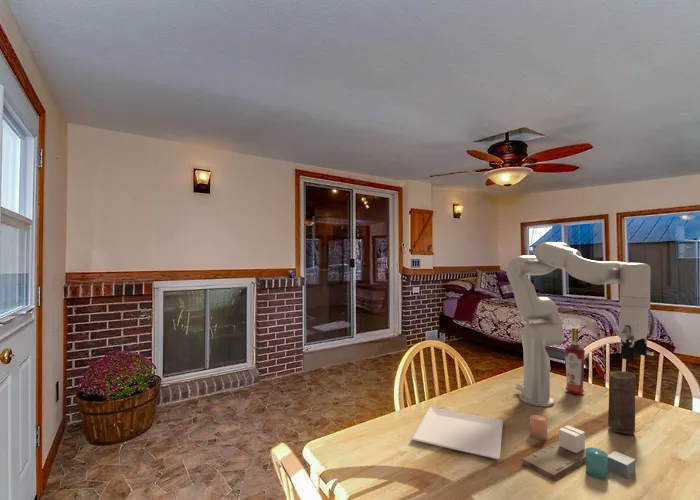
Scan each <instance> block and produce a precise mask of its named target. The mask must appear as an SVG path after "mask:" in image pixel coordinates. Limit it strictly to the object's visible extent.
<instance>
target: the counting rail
mask: <svg viewBox="0 0 700 500" xmlns="http://www.w3.org/2000/svg"><path fill="white" fill-rule="evenodd" d="M584 463H586V448H585V449H583V450H582V451H580V452H578V453H574V452H572V451H570V450H567V449H565V448H563V447H561V446H559V440H557V441H555V442H553V443H551V444H549V445H547V446H545V447H543V448H541V449H539V450H537V451H535V452H534V453H530V454H529V455H527V456H525V457H523V458H522V465H524V466H526V467H528V468H529V469H531V470H532V471H535V472H537V473H539V474H540V475H542V476H544V477H546V478H548V479H550V480H552V481H554V482H555V481H557V480H558V479H559V478H562V477H563V476H564V475H567V474H568V473H570V472H571V471H573V470H574V469H576V468H577V467H579V466H581V465H583V464H584Z"/></svg>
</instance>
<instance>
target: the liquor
mask: <svg viewBox="0 0 700 500" xmlns="http://www.w3.org/2000/svg"><path fill="white" fill-rule="evenodd" d="M570 332H571V333H570V334H571V338H570V345H567V346H566V347H565V348H564V355H565V357H564V358H565V359H564V360H565V369H566V370H565V371H566V387H565V389H566V391H567V392H568V393H570V394H572V395H577V396H581V395H582V394H584V393H585V390H584V373H585V371H584V370H585V369H584V368H585V355H586V353H585V352H586V350H585V349H584V348H583V347H581V346H580V345H579V344H580V343H579V336H578V335H579V328H578V327H570Z"/></svg>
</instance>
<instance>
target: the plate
mask: <svg viewBox="0 0 700 500" xmlns="http://www.w3.org/2000/svg"><path fill="white" fill-rule="evenodd" d="M503 424H504V421H503V420H502V419H498V418H493V417H488V416H481V415H475V414H470V413H465V412H459V411H454V410H449V409H443V408H438V407H433V406H429V407H428V409H427V410H426V412H425V414H424V416H423V417H422V419H421V421H420V423H419V425H418V426H417V429H416V430H415V431H414V434H413V435H412V436H411V440H412V441H414V442H419V443H424V444H426V445H427V444H428V445H432V446H437V447H440V448H441V447H442V448H445V449H451V450H454V451H459V452H464V453H467V454H472V455H477V456H480V457H481V456H482V457H485V458H491V459H494V460H499V459H501V448H502V437H503V435H502V434H503V426H504V425H503Z"/></svg>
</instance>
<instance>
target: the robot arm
mask: <svg viewBox="0 0 700 500" xmlns="http://www.w3.org/2000/svg"><path fill="white" fill-rule="evenodd" d="M533 254H534V255H531V254H527V255H526V254H525V255H517V256H514V257H513V258H511V259H510V260H509V262H508V264H507V266H506V276H507V279H508V282H509V284H510V286H511V289H512V293H513V297H514V300H515V304H516V307H517V310H518V314H519V316H520V318H521V319H523V320H525V321H540V322H536V323H535V322H534V323H533V322H531V323H529V324H526V325H524V326H523V327H522V328H521V331H520V339H521V343H522V348H523V350H522V351H523V384H521V383H516V385H515V389H516V390H517V391H520V394H519V399H520V401H522V402H524V403H525V404H529V405H532V406H536V407H545V408H546V407H551V406H553V405H554V404H555V400H554V398H553V397H551V396H550V394H551V393H550V391H551V388H550V387H551V386H550V383H551V382H550V381H551V379H550V377H551V376H550V374H551V372H550V369H551V368H550V365H551V363H550V356H549V353H548V351H547V349H546V347H553V346H558V345H560V344H562V343H563V342H564V340H565V330H564V325H563V323H562V319H561V315H560V313H559V309H558V306H557V305H556V303H555V301H553V300H552V299H551V298H549V297H547V296H538V295H537V292H536V288H535V285H534V284H533V283H532V281H531V280H530V279H529V278H528V277H527V276H543V275H547V274H549V273H551V272H553V271H555V270H556V269H560V270H563V271H565V272H567V274H569V275H570V276H571V277H573V278H575V279H578V280H580V281H583V282H585V283H589V284H593V285H617V284H619V306H620V310H619V315H618V316H619V317H618V330H617V336H618V338H620V346H621V347H620V348H621V349H620V350H621V354H620V355H621V356H620V358H621V359H622V360H627V361H631V362H633V361H634V362H635V354H636V355H641V356H647V355H648V354H647V353H648V345H647V344H648V338H647V337H648V334H649V333H648V332H649V317H648V316H649V315H648V310H649V309H651V274H652V273H651V266H650V265H649V264H647V263H641V262H624V261H618V260H617V261H614V260H613V261H609V260H608V261H607V260H606V261H605V260H603V261H598V260H591V259H587V258H584V257H583V255H582V253H581V252H580V250H578V249H575V248H572V247H571V246H570V245H569V244H568V243H565V242H562V241H557V242H556V241H555V242H554V241H545V242H541V243H539V244H538V245H536V246H535V248H534V252H533Z"/></svg>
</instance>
